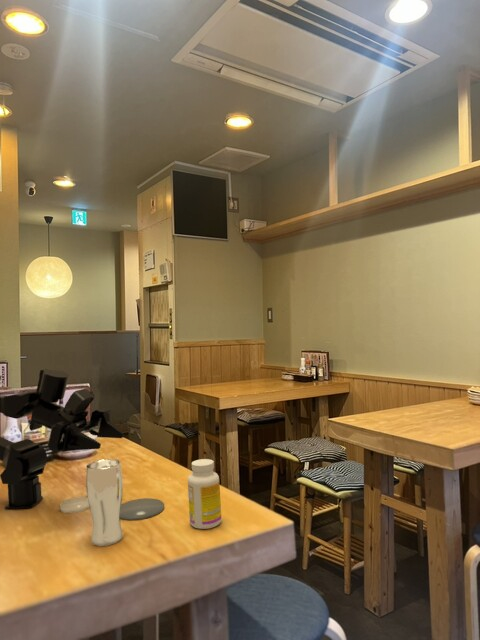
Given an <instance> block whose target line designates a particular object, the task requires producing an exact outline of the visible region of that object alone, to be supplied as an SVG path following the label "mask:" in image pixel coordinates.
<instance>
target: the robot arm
mask: <svg viewBox="0 0 480 640" xmlns="http://www.w3.org/2000/svg"><path fill="white" fill-rule="evenodd" d="M69 376H70V375H69V373H68V372H65V371H63V370H60V371H59V370H55V369H53V370H52V369H47V368H45V369H40V370H39V376H38V382H37V386H36V390H30V391H24V392H20V393H14V394H9V395H7V394H6V395H5V394H4V395H3V394H0V414H2V415H3V416H5V417H8V418H12V419H21V418H24V417H28V416H30V419H28V421H27V422H28V424H29V425H28V427H29V430H30V431H31V432H32V431H35V430H39V429H42V428H43V427H45V428H47V429H49V430H50V433H49V436H48V442H47V446H48V448H49V450H50V451H51V452H54V453H55V454H57V453H61V452H62V453H65V452H72V451H74V452H75V451H84V450H85V451H87V450H99V449H101V443H100V442H99V441H98V440H96V439H93V437H90V436H88V435H87V434H86V433H89V434H90V435H92V436H96V437H97V438H105V439H106V438H108V439H123V438H124V432H122V431H121V430H120V429H119V427H117V426H116V425H115V424H114V422H112V421H111V412H112V411H111V409H109V408H106V407H100V408H98V409H95V410H93V411H92V412H91V415H90V420H88V419H87V417H88V414H89V411H88V410H87V409H88V408H89V406H90V405H91V404H92V402H93V401H94V399H95V394H94V392H93V390H89V389H88V388H87V389H86V388H82V389H78V390H75V391H74V392H72V393H71V395H70V397H69V398H68V400H67V402H66V403H65V405H64V406H62V405H60V404H57V403H58V402H59V400H63V399H64V398H65V394H66V390H67V385H68V382H69ZM46 451H47V450H46V449H45V448H44V447H42V446H41V443H40V442H39V443H38V442H34V441H33V440H31V439H29V438H25V439H22V440H19V441H16V442H13V441H12V440H11V441H10V440H9V439H7V438H4V437H2V436H0V461H2V464H3V465H4V468H5V469H4V470H3V471H2V472H1V473H0V480H1V483H2V484H4V485H7V497H8V504H6V505H5V506H4V509H6V510H7V509H8V510H12V509H13V510H16V509H17V510H18V509H31V508H33V507H34V506H36V505H37V504H38V503H40V501H42V500H43V498H44V497H43V495H42V483H41V482H40V480H39V479H40V478H39V475H42V474H44V471H45V467H46V464H47V462H48V455H47V452H46Z"/></svg>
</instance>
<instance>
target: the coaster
mask: <svg viewBox="0 0 480 640" xmlns="http://www.w3.org/2000/svg"><path fill="white" fill-rule="evenodd" d="M164 510H165V503H164V502H163V501H162V500H160V499H157V498H152V497H151V498H150V497H149V498H146V497H145V498H137V499H136V498H135V499H132V500H127V501H126V502H123V503H121V511H120V520H124V521H141V520H147V519H151V518H154V517H156V516H158V515H160V514H161V513H162V512H164Z"/></svg>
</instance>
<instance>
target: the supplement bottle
mask: <svg viewBox="0 0 480 640" xmlns="http://www.w3.org/2000/svg"><path fill="white" fill-rule="evenodd" d="M214 462H215V461H214V460H212V459H209V458H201V459H197V460H194V461H192V462H191V470H192V473H191V474H189V476H188V477H187V493H188V511H189V523H190V525H191V526H192V527H193V528H195V529H199V530H206V529H212V528H215V527H217V526H219V525H220V523H221V522H222V507H221V490H220V487H221V486H220V477H219V475H218V473H217V472H215V471H214V468H215V463H214Z"/></svg>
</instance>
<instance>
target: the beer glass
mask: <svg viewBox="0 0 480 640" xmlns="http://www.w3.org/2000/svg"><path fill="white" fill-rule="evenodd" d="M85 476H86V478H85V479H86V481H85V484H86V486H85V487H86V496H87V498H88V503H89V507H90V508H89V511H90V516H91V521H92V530H91V531H92V532H91V539H90V542H91V544H92V545H94V546H97V547H107V546H111V545H115V544H117V543H119V542H120V541H122V539H123V538H124V533H123V529H122V524H121V519H120V511H121V504H123V503H122V501H123V493H124V492H123V491H124V489H123V488H124V487H123V486H124V485H123V484H124V483H123V481H124V479H123V471H122V465H121V461H120V459H117V458H115V459H114V458H105V459H99V460H95V461H91V462H90V463H89V462H88V463H87V464H86V475H85Z"/></svg>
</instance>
